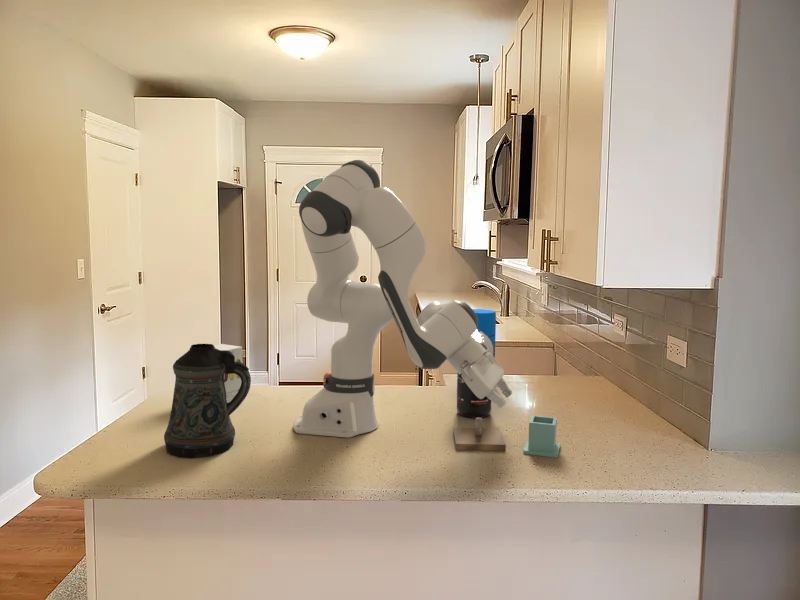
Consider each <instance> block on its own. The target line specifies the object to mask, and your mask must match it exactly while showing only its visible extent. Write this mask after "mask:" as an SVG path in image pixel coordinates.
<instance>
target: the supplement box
mask: <svg viewBox="0 0 800 600" xmlns="http://www.w3.org/2000/svg"><path fill="white" fill-rule="evenodd" d="M214 347H215V348H216V349H218V350H228V351H231V353H232V354H233V355H234V356H235V362H237V361H239V362H241V363H243V362H244V361H243V346H241V345H240V346H239V345H232V344H225V343H219V344H214ZM243 364H244V363H243ZM241 382H242V381H241V378H240V377H239V376H238V375H237V374H234V373H233V374H225V373H224V384H225V390H226V397H227V398H226V400H227V403H229V402H230V401H231V400H232V399H233V398H234V397H235V395H236V394H237V393H238V391H239V388H240V386H241Z"/></svg>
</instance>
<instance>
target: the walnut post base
mask: <svg viewBox="0 0 800 600" xmlns="http://www.w3.org/2000/svg"><path fill="white" fill-rule="evenodd" d="M474 426H475V427H452V435H453V436H452V437H453V440H454V447H455V451H497V452H499V451H501V452H505V451H506V450H507V449H506V447H507V445H506V442H505V439H504V437H503V434H502V432H501V429H500V428H497V427H495V428H494V427H493V428H492V427H483V417H481V418H479V417H477V418H475V425H474ZM506 452H507V451H506Z"/></svg>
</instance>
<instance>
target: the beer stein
mask: <svg viewBox="0 0 800 600" xmlns="http://www.w3.org/2000/svg"><path fill="white" fill-rule="evenodd" d="M214 346H215V344H211V343H196V344H192V345H191V346H190V348H189V349H188V350H187V352H185V353H184V354H183V355H181V356H180V357H179V358H177V359H176V361H174V363H173V365H172V370H173V374H174V375H175V382H174V388H173V396H172V397H173V399H172V403H171V404H172V405H171V411H170V415H169V416H170V417H169V420H168V422H167V423H168V424H167V427H166V430H165V432H164V434H163V440H164V444H165V449H166V454H168V455H169V456H173V457H175V458H180V459H181V458H182V459H199V458H210V457H213V456H217V455H221V454H223V453H225V452H228V451H229V450H230V449H231V448H232V447H233V446H234V442H235V441H234V440H235V438H236V437H235V435H236V429H235V427H234V425H233V423H232V420H231V416H230V415H231V414H233V413H234V412H235V411H236V410H237V409H238V408H239V407H240V406H241V404H242V403H243V402H244V401H245V399H246V397H247V396H248V394H249V392H250V389H251V383H252V378H251V377H252V376H251V373H250V370H249V369H250V368H249V367H248V366H247V365H245V364H244V363H241V362H239V361H237V362H235V356H234V355H233V354H232V353H231V351H228V350H218V349H216V348H215V347H214ZM224 373H225V374H233V373H234V374H237V375H238V376H239V377H240V378H241V381H242V382H241V386H240V388H239V391H238V393H237V394H236V395H235V397H234V398H233V399H232V400H231V401H230V402H229V403H227V400H226V398H227V397H226V390H225V384H224Z"/></svg>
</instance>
